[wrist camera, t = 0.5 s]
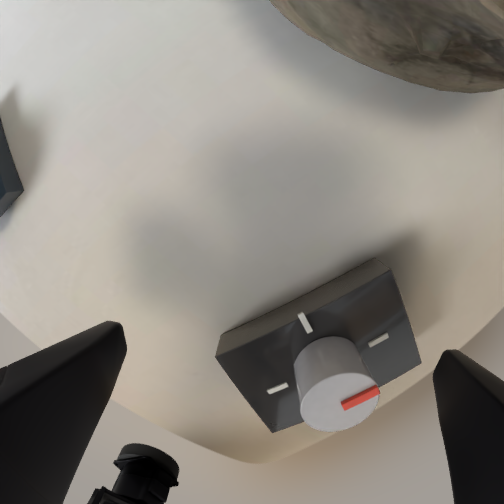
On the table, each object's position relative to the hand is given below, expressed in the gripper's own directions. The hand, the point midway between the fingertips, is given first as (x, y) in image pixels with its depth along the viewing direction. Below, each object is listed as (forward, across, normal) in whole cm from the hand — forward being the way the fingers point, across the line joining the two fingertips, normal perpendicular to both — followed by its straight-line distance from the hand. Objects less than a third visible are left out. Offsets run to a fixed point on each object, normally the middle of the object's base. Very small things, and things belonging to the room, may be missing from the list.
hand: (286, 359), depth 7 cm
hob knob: (+9, -4, +8) cm, 12 cm away
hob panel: (+12, -3, +8) cm, 15 cm away
